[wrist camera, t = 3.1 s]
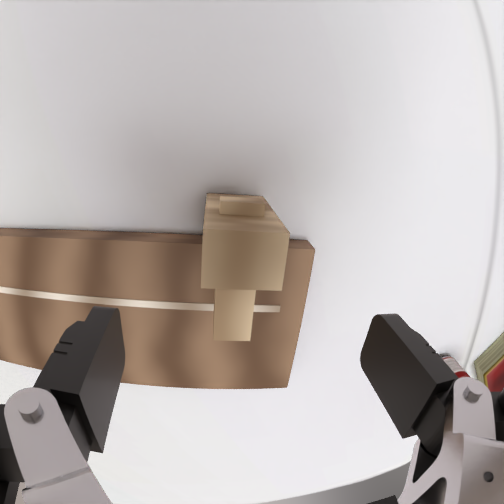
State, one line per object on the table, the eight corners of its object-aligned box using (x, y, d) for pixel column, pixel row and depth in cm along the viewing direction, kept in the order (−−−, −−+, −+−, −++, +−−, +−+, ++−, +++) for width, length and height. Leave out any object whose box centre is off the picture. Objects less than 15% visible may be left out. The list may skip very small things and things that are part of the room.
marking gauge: (263, 187, 22) (292, 218, 14) (251, 302, 26) (268, 374, 18) (207, 183, 22) (203, 213, 14) (202, 300, 25) (200, 373, 17)
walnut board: (307, 240, 25) (315, 250, 23) (282, 373, 30) (287, 388, 28) (-34, 227, 20) (-46, 234, 18) (-2, 346, 25) (-10, 357, 23)
